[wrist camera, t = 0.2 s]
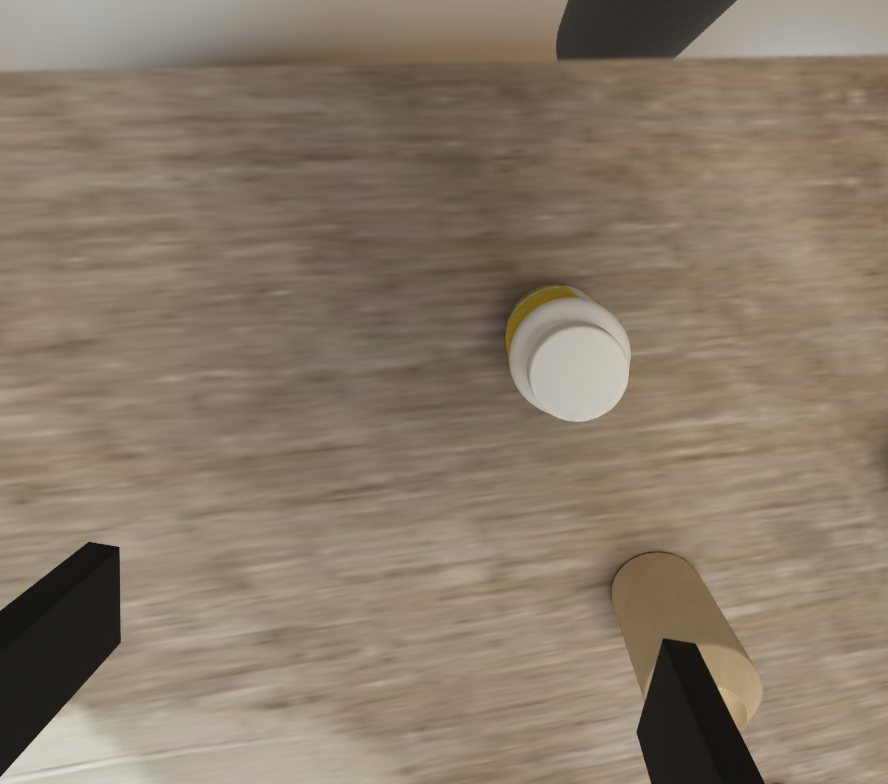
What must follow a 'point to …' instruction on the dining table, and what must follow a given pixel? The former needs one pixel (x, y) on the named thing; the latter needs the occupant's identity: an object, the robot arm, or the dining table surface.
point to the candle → (682, 627)
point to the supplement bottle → (567, 353)
